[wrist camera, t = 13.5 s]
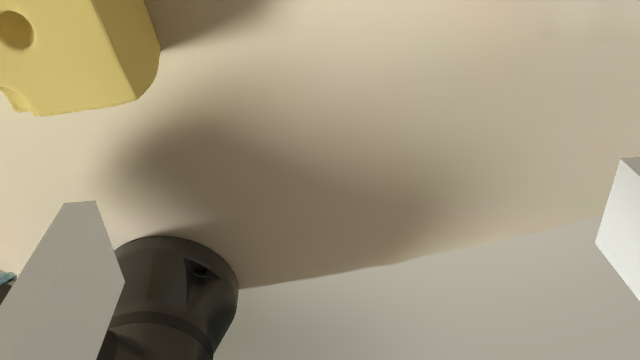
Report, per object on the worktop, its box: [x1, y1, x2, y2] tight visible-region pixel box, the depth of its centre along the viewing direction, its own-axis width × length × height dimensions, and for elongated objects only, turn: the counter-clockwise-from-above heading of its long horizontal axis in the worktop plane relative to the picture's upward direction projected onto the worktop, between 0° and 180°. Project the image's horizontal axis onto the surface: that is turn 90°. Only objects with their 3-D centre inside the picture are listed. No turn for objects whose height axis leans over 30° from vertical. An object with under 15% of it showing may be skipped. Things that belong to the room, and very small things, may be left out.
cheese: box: [0, 0, 161, 116], centre depth 36 cm, size 10×11×10 cm
